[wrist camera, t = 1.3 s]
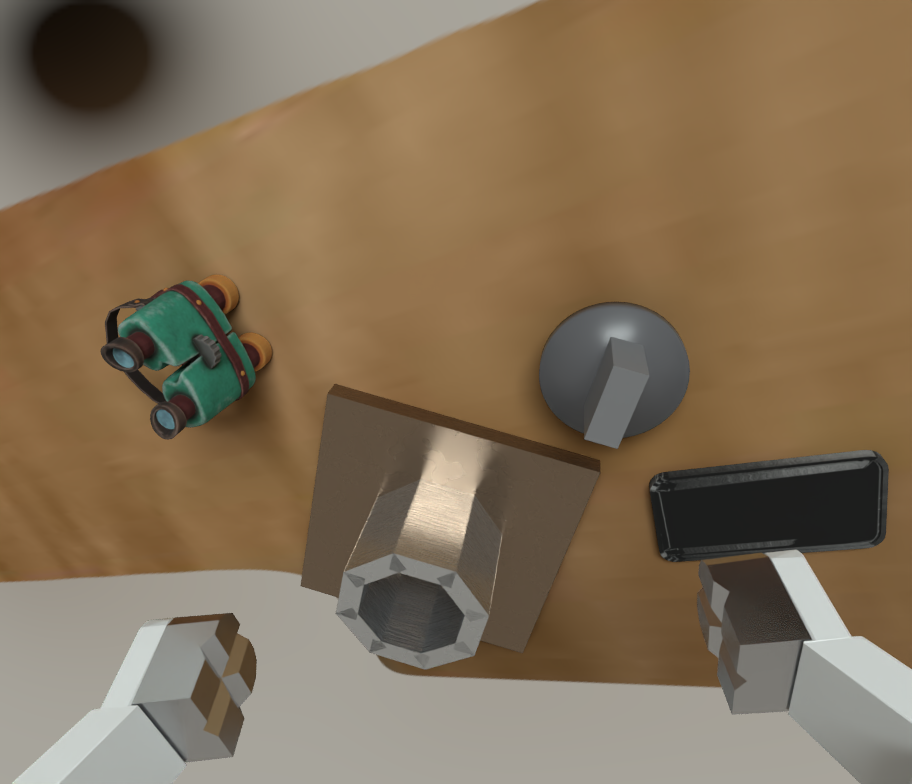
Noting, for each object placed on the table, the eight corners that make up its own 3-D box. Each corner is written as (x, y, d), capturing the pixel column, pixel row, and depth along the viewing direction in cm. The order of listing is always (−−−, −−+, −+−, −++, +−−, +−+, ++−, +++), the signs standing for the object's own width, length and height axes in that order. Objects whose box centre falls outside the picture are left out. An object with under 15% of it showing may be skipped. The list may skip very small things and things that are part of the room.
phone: (648, 480, 45) (889, 454, 41) (646, 470, 46) (882, 445, 42) (661, 564, 48) (885, 548, 44) (659, 553, 49) (879, 537, 45)
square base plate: (599, 460, 45) (603, 551, 37) (523, 638, 55) (513, 741, 47) (334, 383, 46) (281, 456, 38) (307, 573, 56) (260, 663, 48)
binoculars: (11, 361, 38) (120, 314, 34) (132, 296, 47) (231, 252, 42) (101, 478, 41) (211, 449, 37) (199, 397, 50) (296, 366, 46)
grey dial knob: (706, 312, 39) (728, 361, 33) (651, 430, 44) (662, 492, 38) (565, 273, 40) (562, 315, 33) (526, 394, 44) (517, 449, 38)
